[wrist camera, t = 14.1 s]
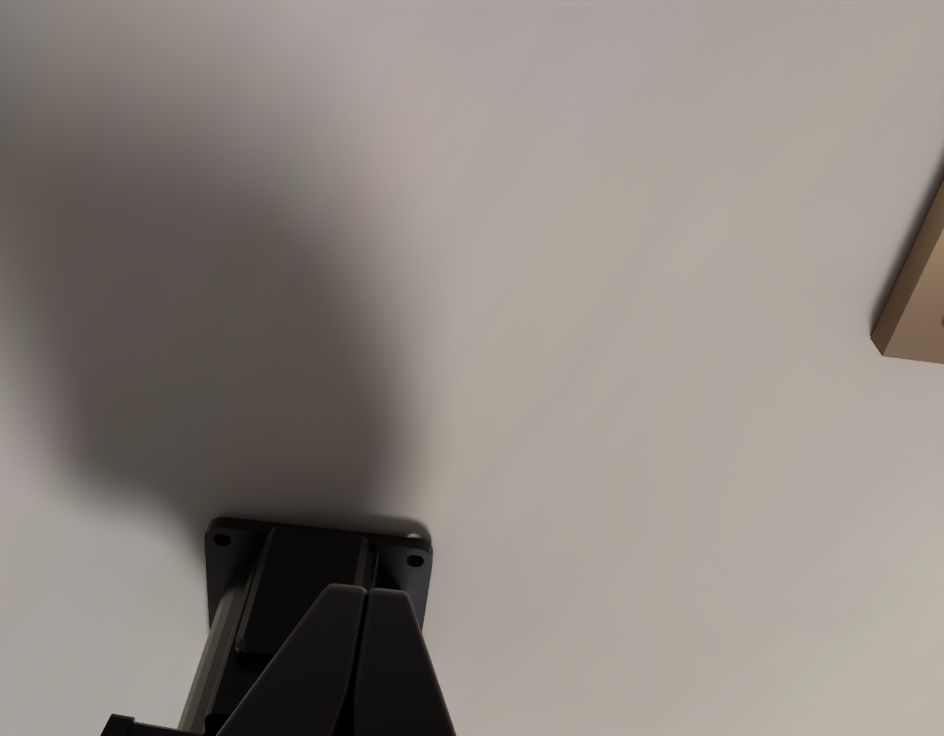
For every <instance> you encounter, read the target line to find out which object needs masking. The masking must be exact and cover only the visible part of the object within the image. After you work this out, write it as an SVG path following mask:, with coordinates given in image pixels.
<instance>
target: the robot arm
mask: <svg viewBox="0 0 944 736" xmlns="http://www.w3.org/2000/svg"><path fill="white" fill-rule="evenodd" d="M221 533H222V534H226V535H228V536H223V535H221ZM411 555H419V556H420V557H414V556H411ZM205 556H206V573H207V591H208V608H209V626H210V632H209V635H208V638H207V641H206V644H205V647H204V650H203V653H202V656H201V659H200V662H199V665H198V668H197V671H196V674H195V677H194V680H193V683H192V686H191V689H190V692H189V695H188V698H187V701H186V704H185V707H184V710H183V713H182V716H181V719H180V722H179V725H178V728H177V729H173V728H167V727H162V726H156V725H151V724H145V723H139V722H135V718H134V717H129V716H123V715H118V714H112V715H111V716H110V718H109V720H108V722H107V724H106V726H105V728H104V730H103V732H102V734H101V736H456V733H455V730H454V727H453V724H452V721H451V718H450V715H449V712H448V709H447V706H446V703H445V700H444V697H443V694H442V691H441V688H440V685H439V682H438V680H437V677H436V674H435V671H434V668H433V665H432V662H431V659H430V656H429V653H428V650H427V647H426V644H425V641H424V638H423V635H422V628H423V621H424V615H425V608H426V602H427V595H428V589H429V582H430V576H431V569H432V562H433V548H432V546H431V545H430V544H429V543H428V542H426V541H425V540H421V539H417V538H408V537H399V536H390V535H381V534H372V533H363V532H354V531H345V530H336V529H327V528H317V527H308V526H299V525H290V524H281V523H272V522H263V521H254V520H245V519H236V518H227V517H220V518H216V519H214V520H212V521H211V522H210V523H209V526H208V528H207V531H206V534H205Z"/></svg>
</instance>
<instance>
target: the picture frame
mask: <svg viewBox="0 0 944 736" xmlns="http://www.w3.org/2000/svg"><path fill="white" fill-rule="evenodd" d="M870 339H871V340H872V342H873V343H874V344H875V346H876V347H877V349H878V350H879V352H880V353H881V355H882V356H885V357H893V358H901V359H909V360H917V361H925V362H933V363H941V364H944V180H943V182H942V184H941V186H940V188H939V190H938V193H937V195H936V197H935V199H934V201H933V203H932V206H931V208H930V210H929V212H928V214H927V216H926V218H925V221H924V223H923V225H922V227H921V229H920V231H919V234H918V236H917V238H916V240H915V242H914V244H913V247H912V249H911V251H910V253H909V255H908V257H907V260H906V262H905V264H904V266H903V268H902V270H901V273H900V275H899V277H898V279H897V281H896V283H895V286H894V288H893V290H892V292H891V294H890V296H889V299H888V301H887V303H886V305H885V307H884V309H883V312H882V314H881V316H880V318H879V320H878V322H877V325H876V327H875V329H874V331H873V333H872V335H871V338H870Z"/></svg>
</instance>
